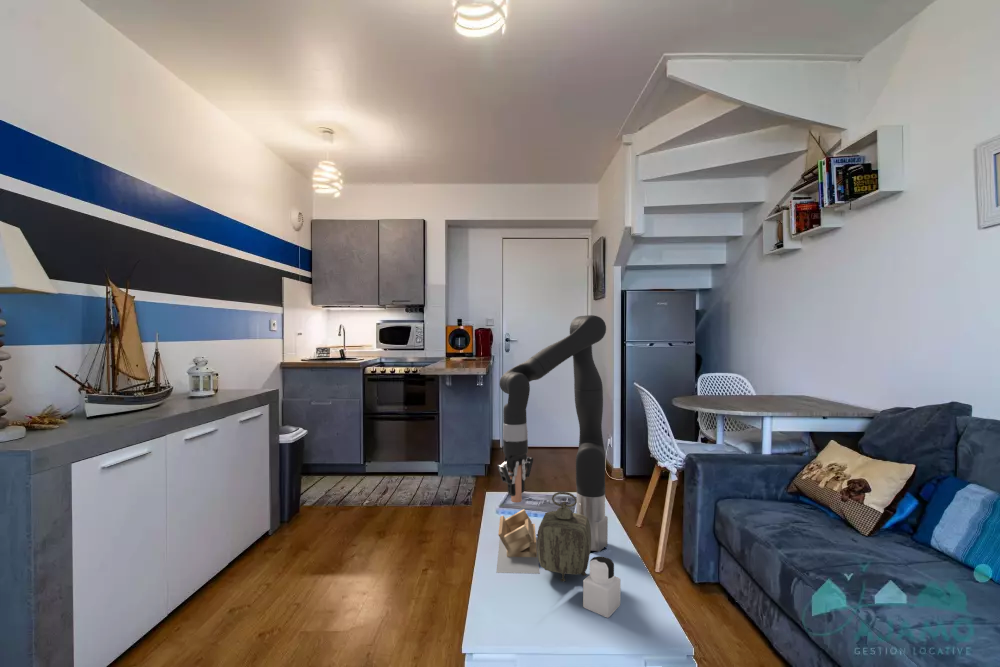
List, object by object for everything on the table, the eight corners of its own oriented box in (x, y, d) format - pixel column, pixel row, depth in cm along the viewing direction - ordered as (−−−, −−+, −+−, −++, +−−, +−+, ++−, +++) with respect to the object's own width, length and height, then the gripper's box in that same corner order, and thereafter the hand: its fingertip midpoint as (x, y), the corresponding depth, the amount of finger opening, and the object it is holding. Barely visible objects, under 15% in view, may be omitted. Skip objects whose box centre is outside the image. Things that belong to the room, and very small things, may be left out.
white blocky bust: (595, 595, 124) (595, 550, 123) (620, 605, 119) (621, 559, 119) (582, 607, 118) (582, 561, 118) (608, 619, 114) (608, 570, 113)
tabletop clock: (591, 575, 133) (591, 489, 133) (588, 593, 124) (588, 501, 124) (541, 568, 137) (541, 484, 137) (535, 585, 128) (535, 495, 128)
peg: (520, 498, 143) (520, 462, 143) (522, 502, 140) (521, 466, 140) (510, 498, 143) (510, 463, 143) (511, 502, 140) (511, 466, 140)
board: (539, 577, 132) (539, 573, 132) (496, 576, 133) (496, 572, 133) (536, 540, 155) (536, 536, 155) (499, 539, 156) (499, 536, 156)
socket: (535, 537, 155) (535, 509, 155) (536, 557, 141) (536, 526, 141) (500, 536, 155) (500, 508, 155) (498, 556, 142) (498, 525, 142)
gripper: (522, 431, 149) (523, 485, 149) (489, 439, 139) (491, 496, 139) (539, 435, 143) (540, 490, 144) (507, 443, 134) (508, 503, 134)
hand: (516, 493), depth 141 cm, fingers closed on peg, 3 cm apart
